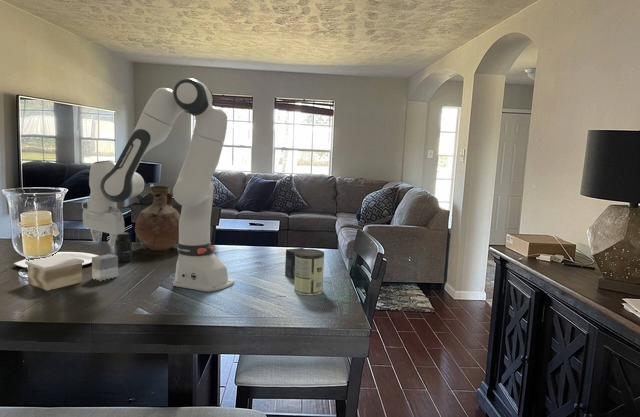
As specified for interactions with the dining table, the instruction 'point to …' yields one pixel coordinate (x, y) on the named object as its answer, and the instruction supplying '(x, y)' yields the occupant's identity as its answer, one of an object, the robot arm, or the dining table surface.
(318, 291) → the coffee can
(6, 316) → the dining table surface
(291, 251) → the box
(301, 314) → the dining table surface
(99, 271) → the block
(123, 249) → the supplement bottle
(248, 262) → the dining table surface
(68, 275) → the stand
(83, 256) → the plate
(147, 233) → the jug
